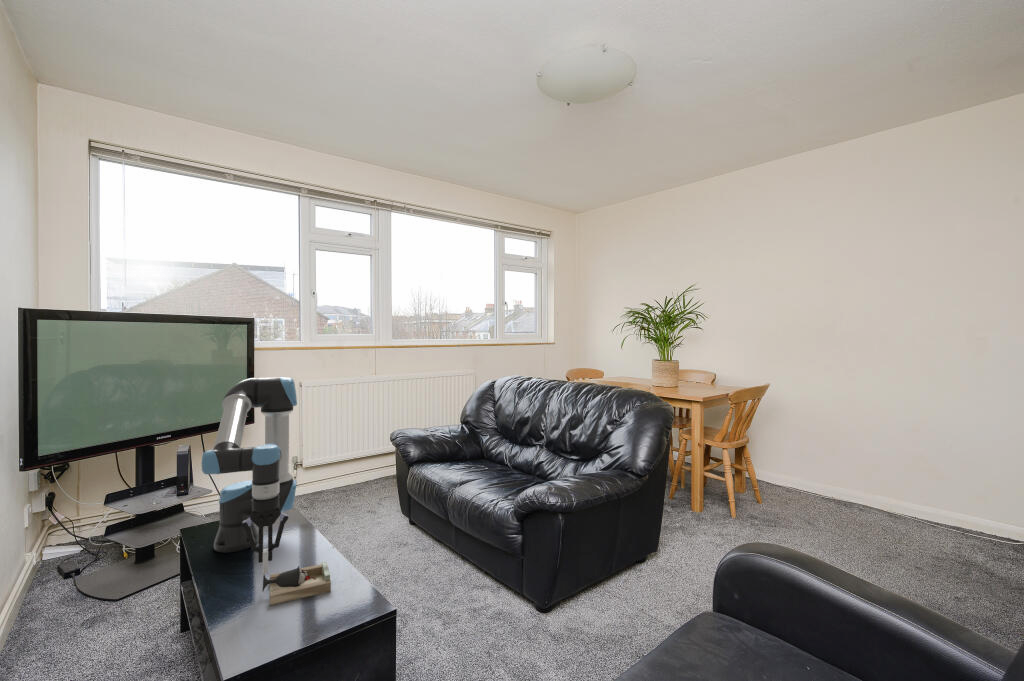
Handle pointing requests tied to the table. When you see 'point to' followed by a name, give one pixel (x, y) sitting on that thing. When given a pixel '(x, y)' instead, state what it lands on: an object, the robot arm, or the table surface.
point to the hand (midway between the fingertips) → (265, 571)
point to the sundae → (289, 578)
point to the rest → (302, 585)
